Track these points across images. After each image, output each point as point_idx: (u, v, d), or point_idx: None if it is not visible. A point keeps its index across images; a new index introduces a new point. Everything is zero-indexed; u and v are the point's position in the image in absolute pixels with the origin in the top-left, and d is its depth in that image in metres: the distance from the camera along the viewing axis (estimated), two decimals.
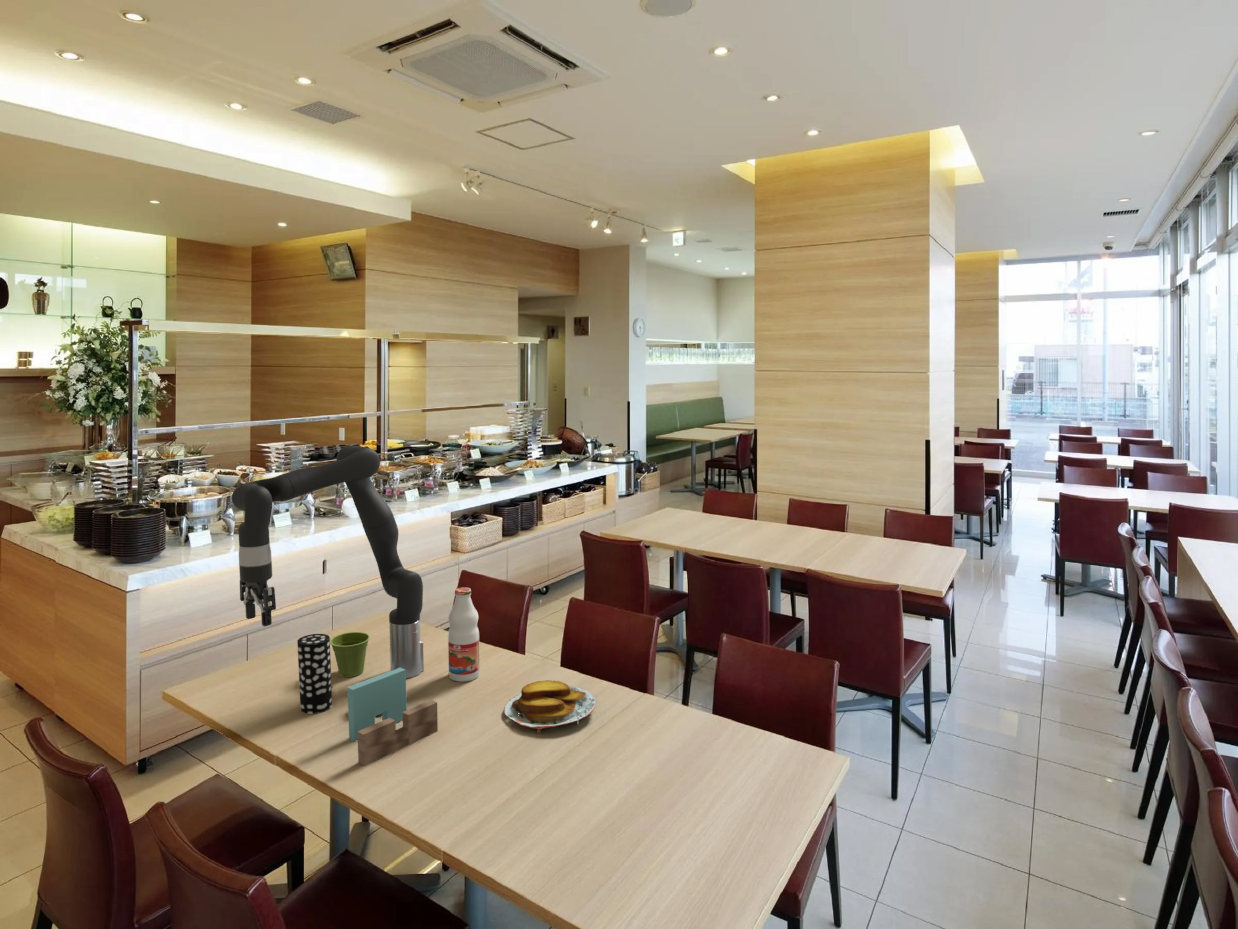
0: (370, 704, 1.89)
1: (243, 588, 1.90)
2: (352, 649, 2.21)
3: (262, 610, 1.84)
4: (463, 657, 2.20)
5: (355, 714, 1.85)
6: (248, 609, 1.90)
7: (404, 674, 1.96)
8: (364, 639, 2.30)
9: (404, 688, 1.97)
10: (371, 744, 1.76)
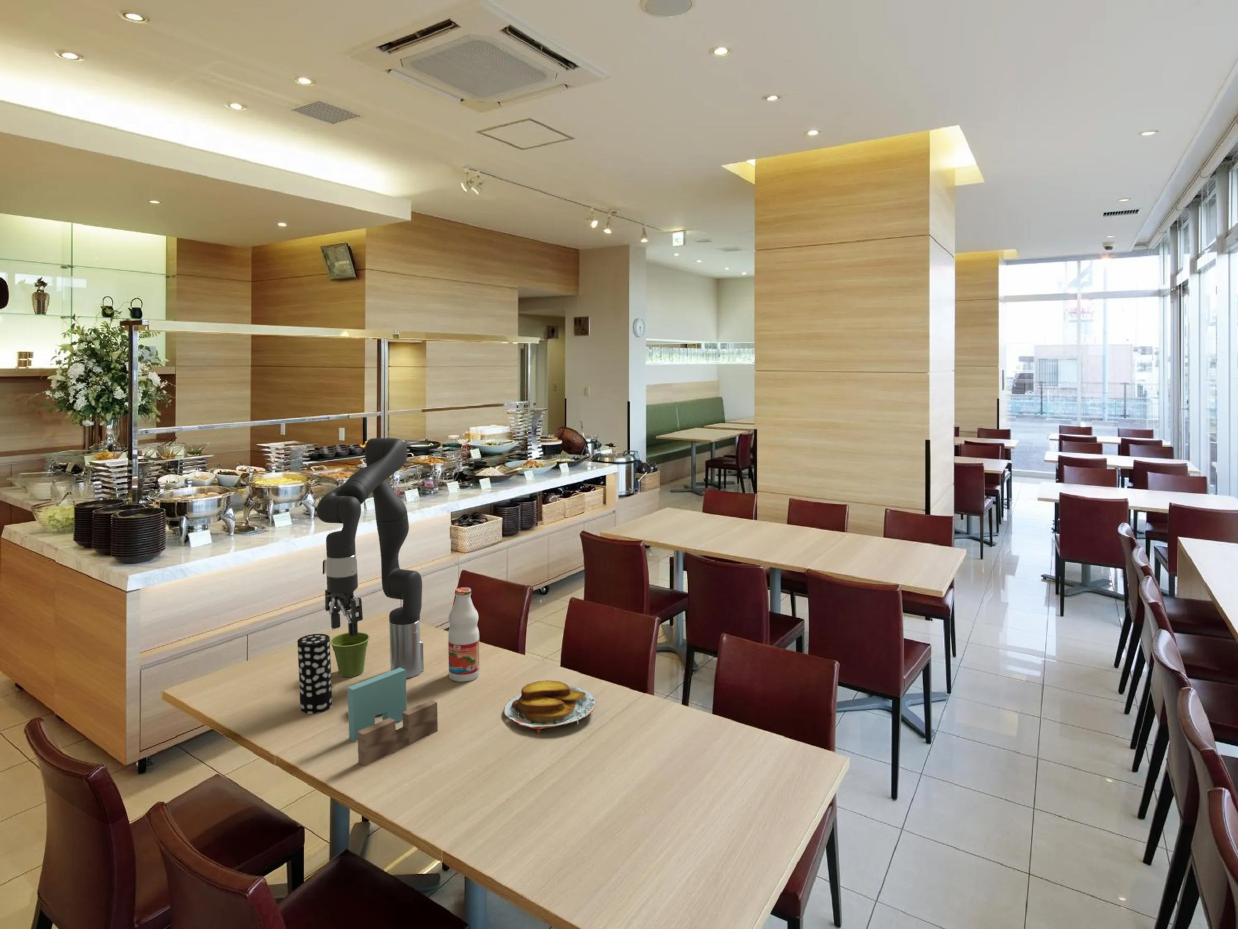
0: (370, 704, 1.89)
1: (328, 598, 1.91)
2: (352, 649, 2.21)
3: (349, 621, 1.85)
4: (463, 657, 2.20)
5: (355, 714, 1.85)
6: (333, 619, 1.91)
7: (404, 674, 1.96)
8: (364, 639, 2.30)
9: (404, 688, 1.97)
10: (371, 744, 1.76)
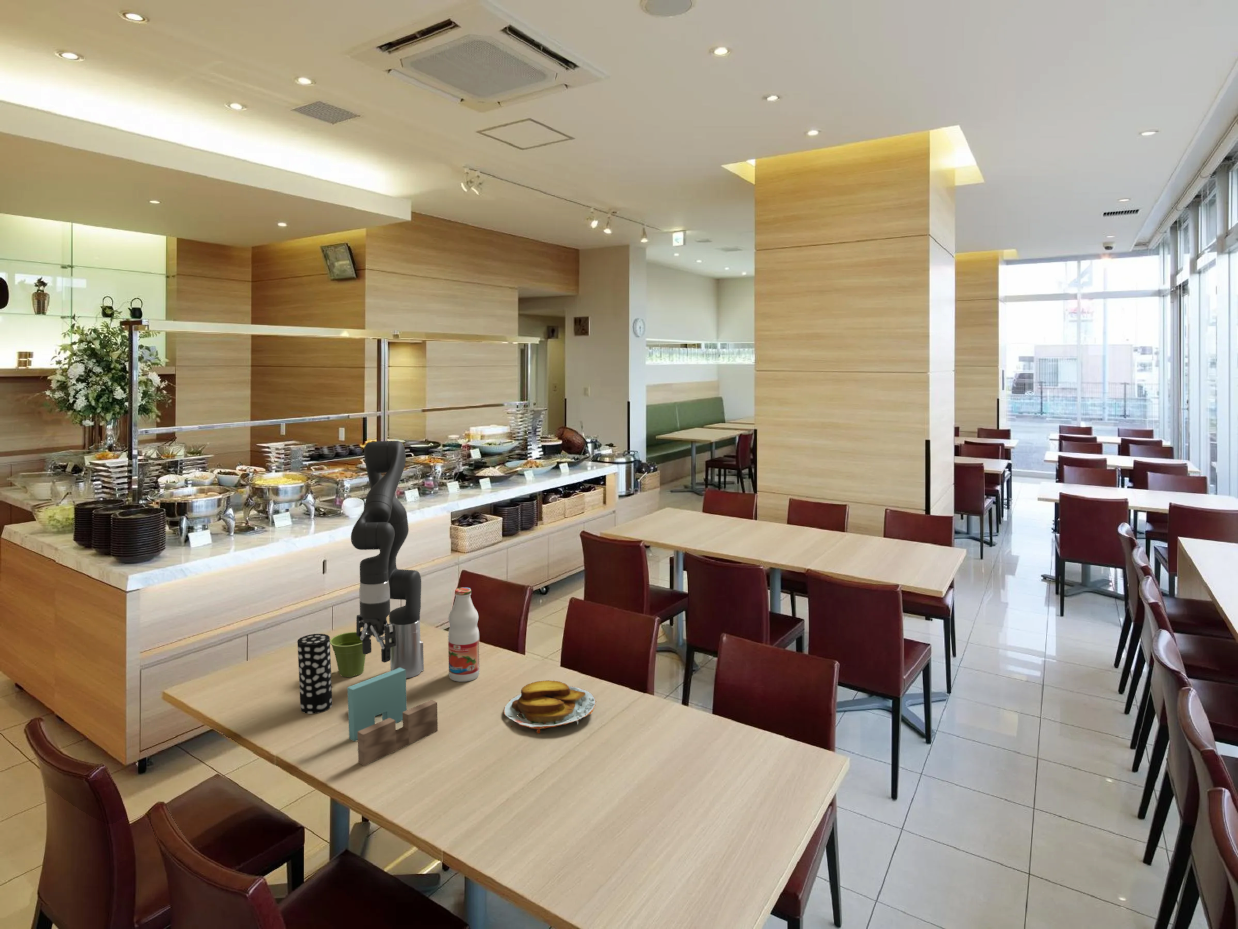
0: (370, 704, 1.89)
1: (360, 624, 1.92)
2: (352, 649, 2.21)
3: (383, 646, 1.86)
4: (463, 657, 2.20)
5: (355, 714, 1.85)
6: (365, 645, 1.92)
7: (404, 674, 1.96)
8: None
9: (404, 688, 1.97)
10: (371, 744, 1.76)
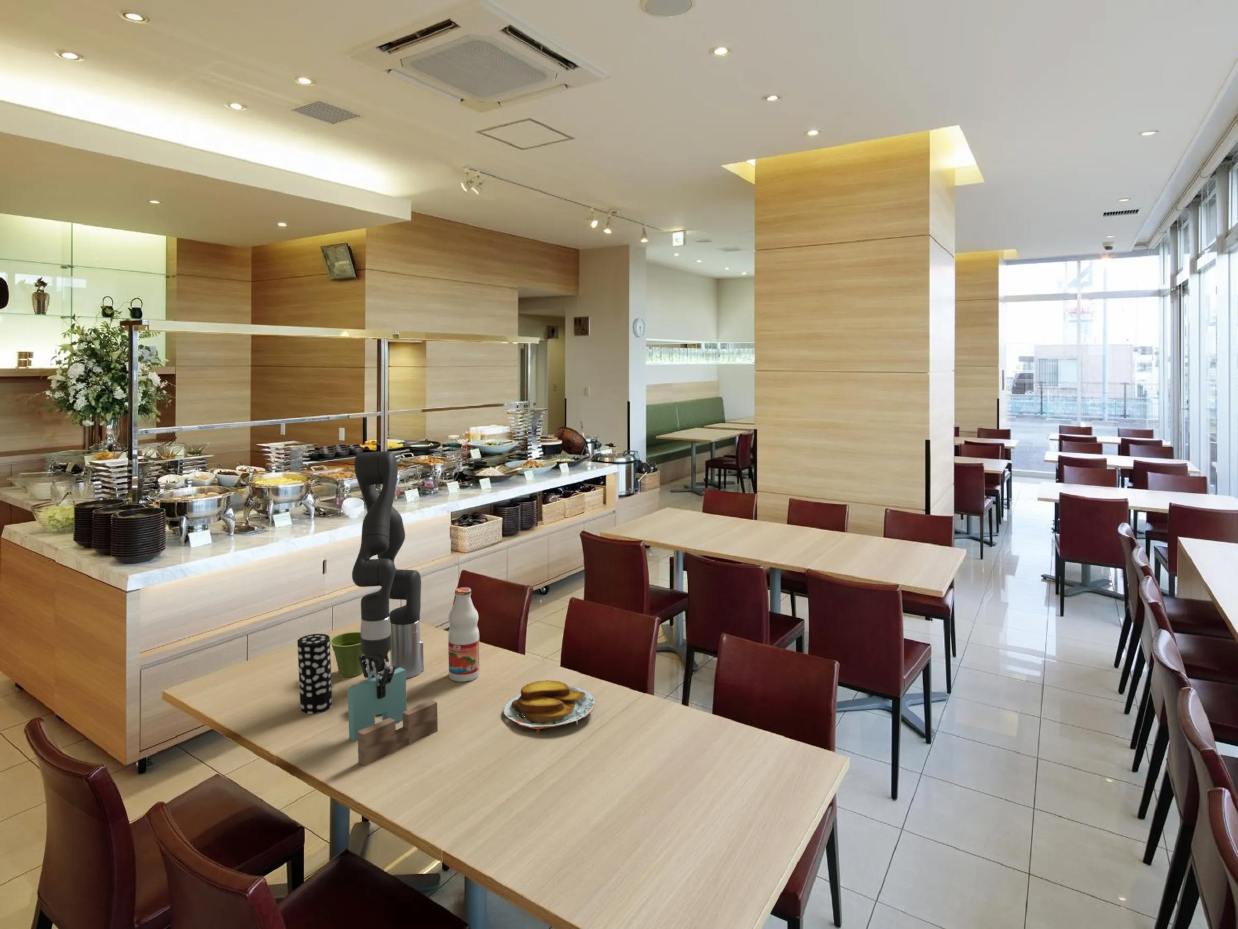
0: (370, 704, 1.89)
1: (364, 664, 1.93)
2: (352, 649, 2.21)
3: (378, 684, 1.89)
4: (463, 657, 2.20)
5: (355, 714, 1.85)
6: None
7: (404, 674, 1.96)
8: None
9: (404, 688, 1.97)
10: (371, 744, 1.76)
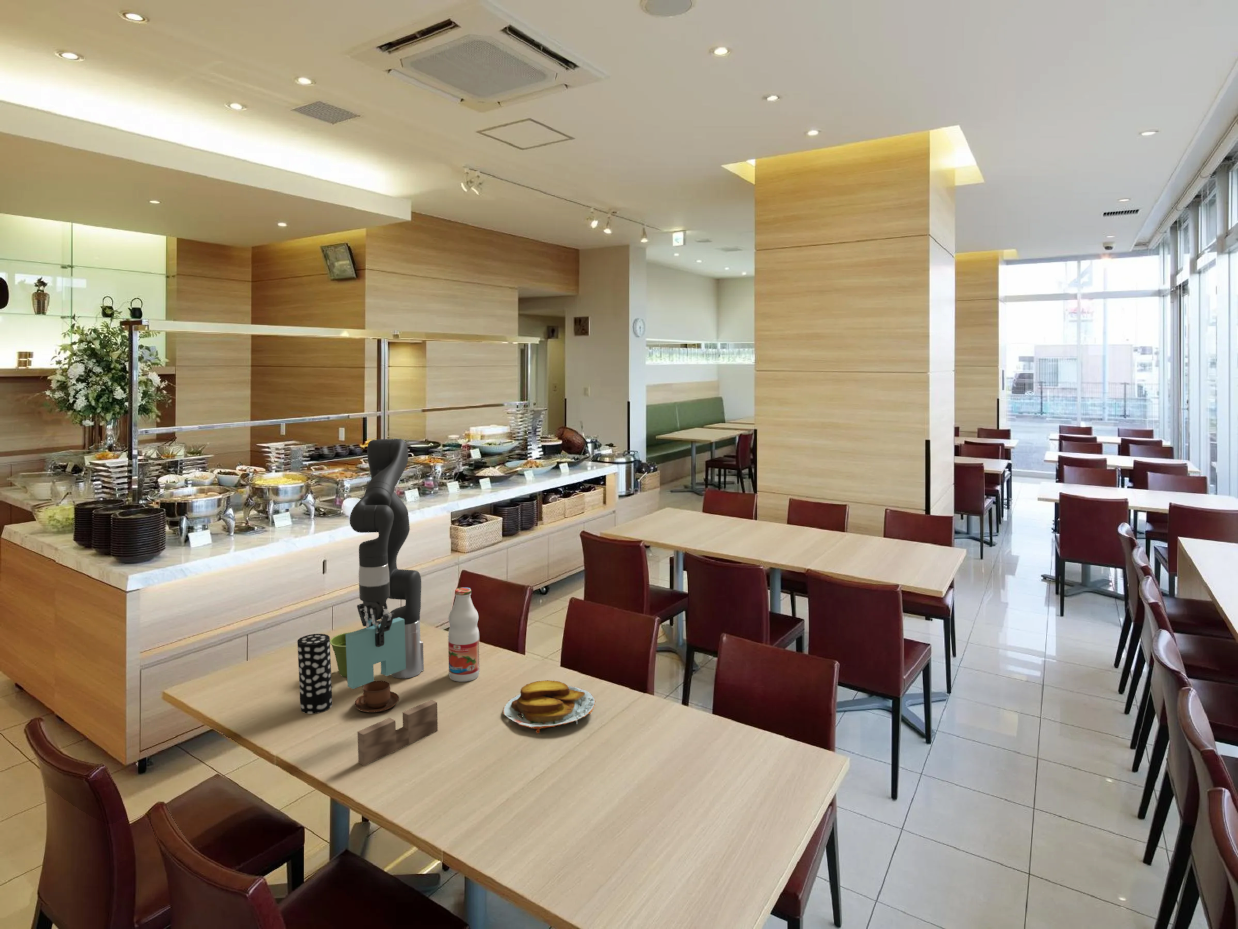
0: (368, 652, 1.87)
1: (362, 612, 1.91)
2: None
3: (376, 631, 1.87)
4: (463, 657, 2.20)
5: (354, 661, 1.84)
6: None
7: (403, 623, 1.94)
8: None
9: (403, 638, 1.95)
10: (371, 744, 1.76)
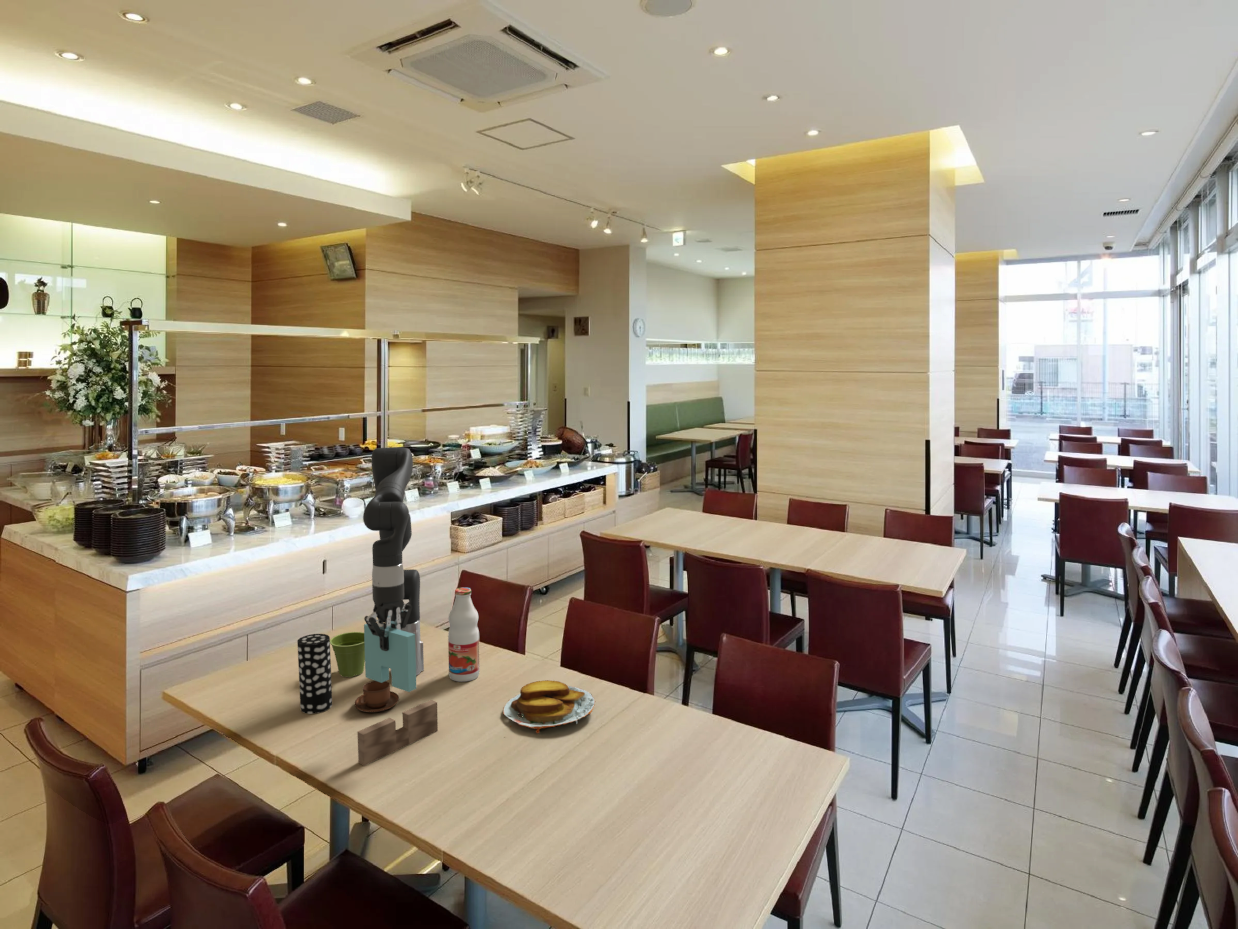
0: (377, 650, 1.82)
1: (401, 612, 1.85)
2: (352, 649, 2.21)
3: None
4: (463, 657, 2.20)
5: (366, 650, 1.84)
6: None
7: (406, 641, 1.76)
8: None
9: (406, 656, 1.76)
10: (371, 744, 1.76)
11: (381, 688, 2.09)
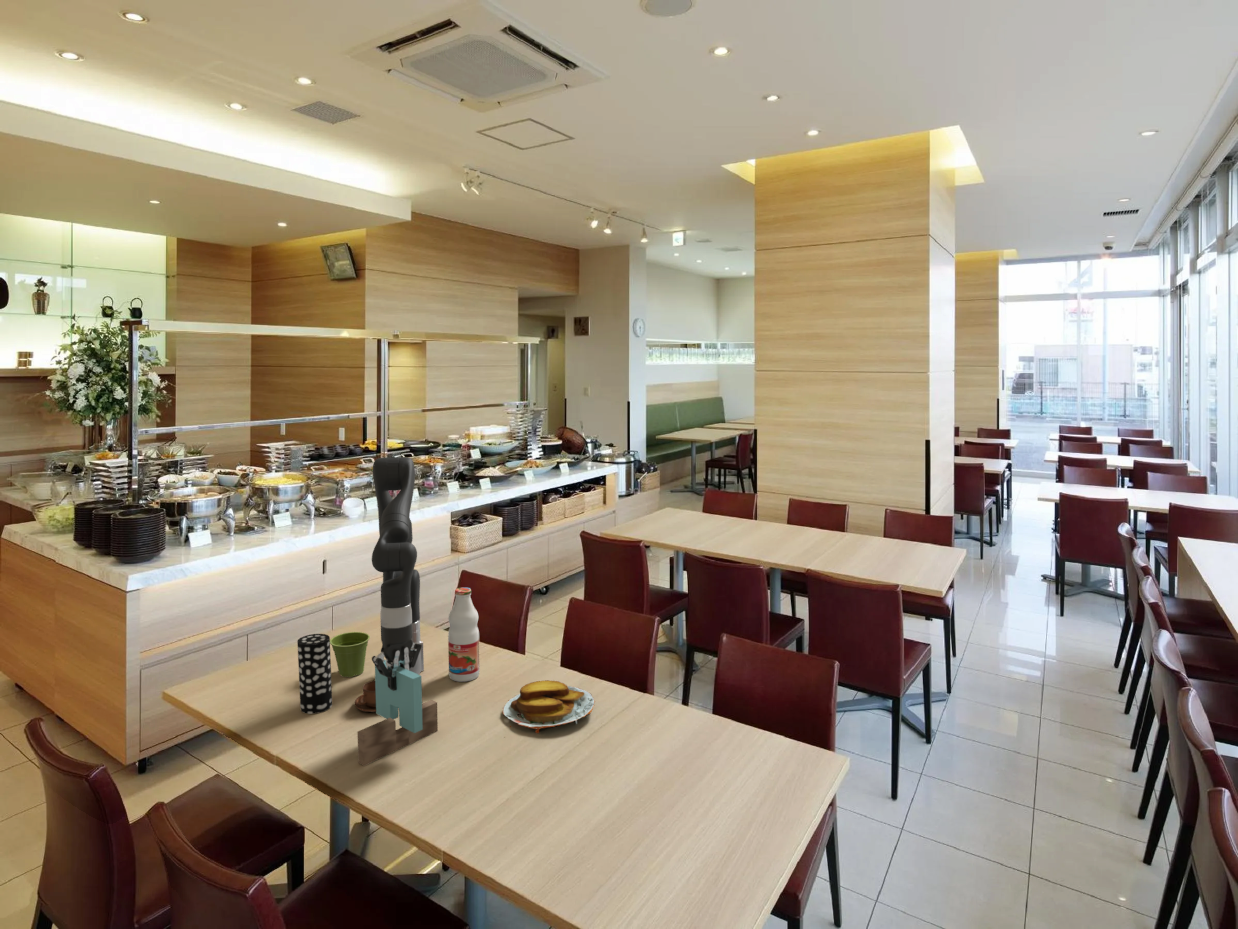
0: (386, 688, 1.83)
1: (410, 651, 1.85)
2: (352, 649, 2.21)
3: None
4: (463, 657, 2.20)
5: (376, 687, 1.86)
6: None
7: (412, 683, 1.76)
8: (364, 639, 2.30)
9: (412, 698, 1.77)
10: (371, 744, 1.76)
11: None
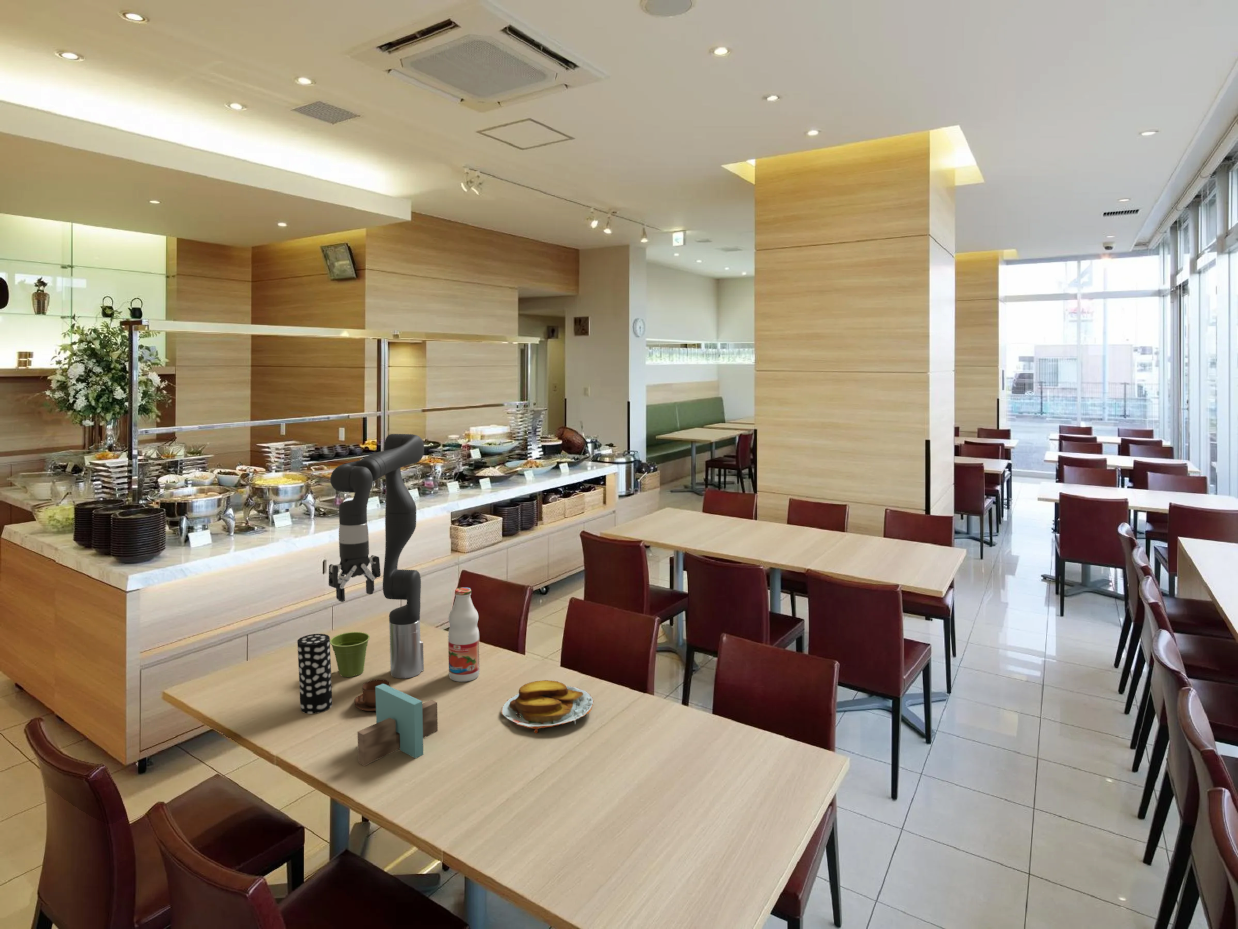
0: (387, 713, 1.84)
1: (371, 564, 2.01)
2: (352, 649, 2.21)
3: None
4: (463, 657, 2.20)
5: (377, 712, 1.87)
6: (366, 584, 2.00)
7: (413, 708, 1.77)
8: (364, 639, 2.30)
9: (413, 724, 1.78)
10: (371, 744, 1.76)
11: None
